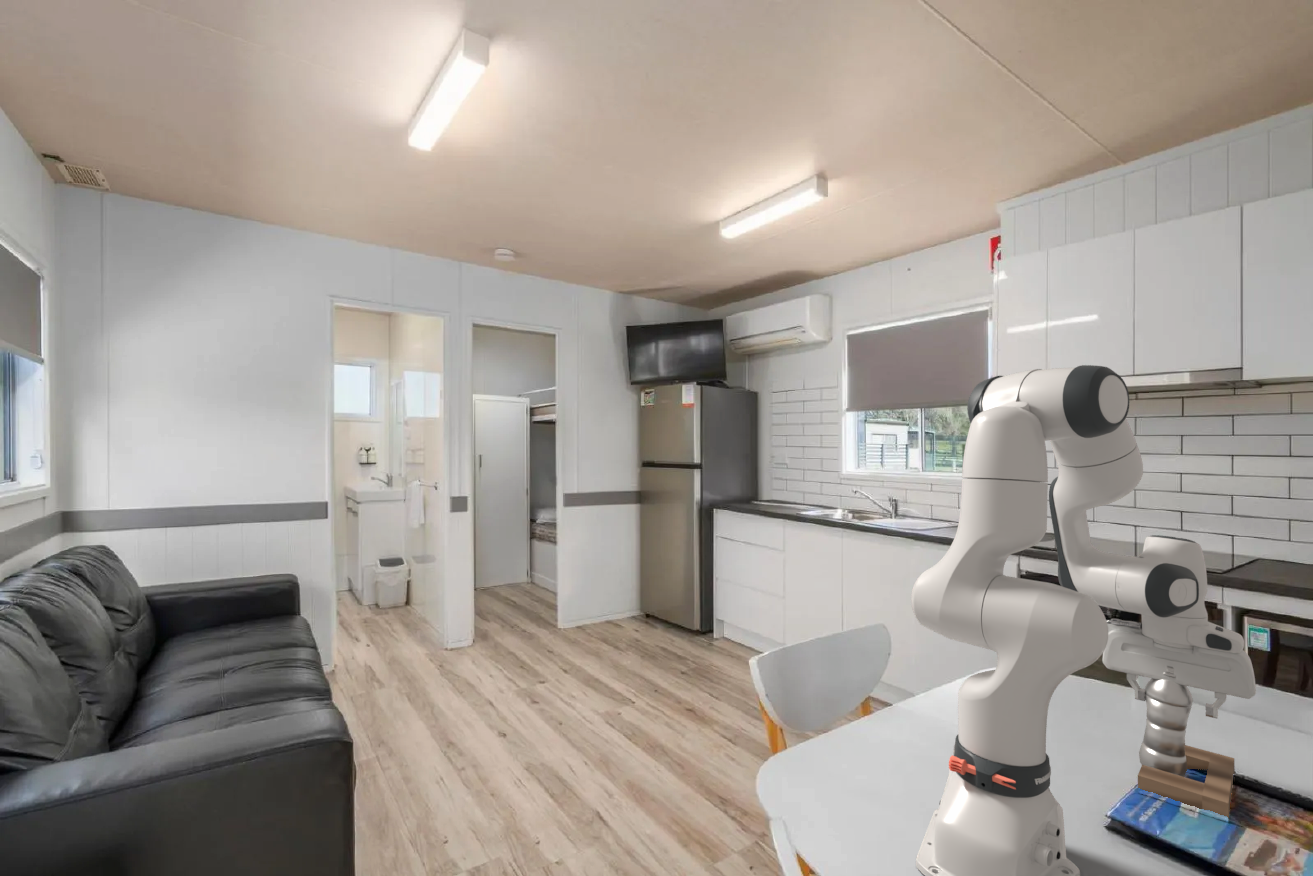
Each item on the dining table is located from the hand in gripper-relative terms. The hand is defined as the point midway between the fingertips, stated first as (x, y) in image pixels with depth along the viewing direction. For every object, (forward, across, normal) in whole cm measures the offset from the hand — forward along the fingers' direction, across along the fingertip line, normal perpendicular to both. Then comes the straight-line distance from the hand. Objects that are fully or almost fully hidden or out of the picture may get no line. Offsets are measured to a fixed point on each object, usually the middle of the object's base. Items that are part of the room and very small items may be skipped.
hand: (1175, 707), depth 104 cm
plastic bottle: (+13, -2, 0) cm, 13 cm away
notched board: (+13, +2, 0) cm, 13 cm away
